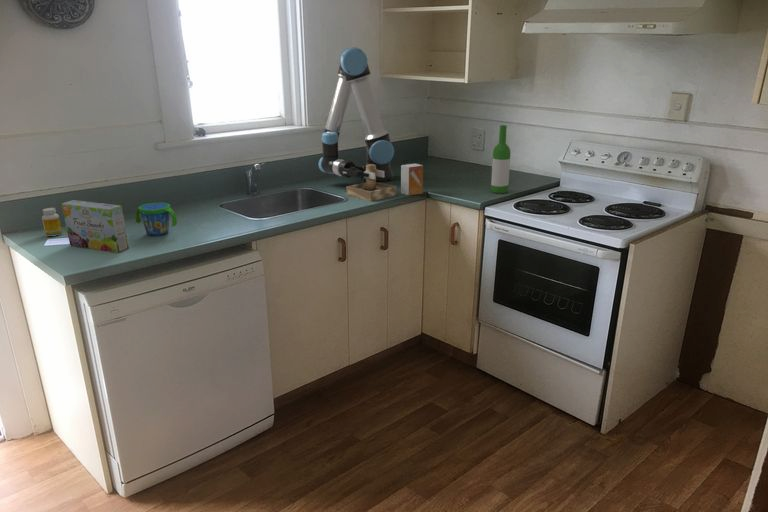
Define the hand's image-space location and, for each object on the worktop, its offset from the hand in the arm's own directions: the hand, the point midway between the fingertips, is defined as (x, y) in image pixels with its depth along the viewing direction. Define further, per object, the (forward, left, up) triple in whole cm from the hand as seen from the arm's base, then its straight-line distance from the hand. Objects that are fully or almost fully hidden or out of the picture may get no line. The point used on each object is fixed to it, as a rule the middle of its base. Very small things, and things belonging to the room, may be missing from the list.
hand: (379, 175), depth 259 cm
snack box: (+115, -17, -10) cm, 117 cm away
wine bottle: (-45, +33, -10) cm, 57 cm away
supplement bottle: (+121, -43, -10) cm, 129 cm away
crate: (0, -5, -10) cm, 11 cm away
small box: (-15, +6, -10) cm, 19 cm away
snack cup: (+94, -18, -10) cm, 96 cm away
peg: (0, -5, -8) cm, 10 cm away
